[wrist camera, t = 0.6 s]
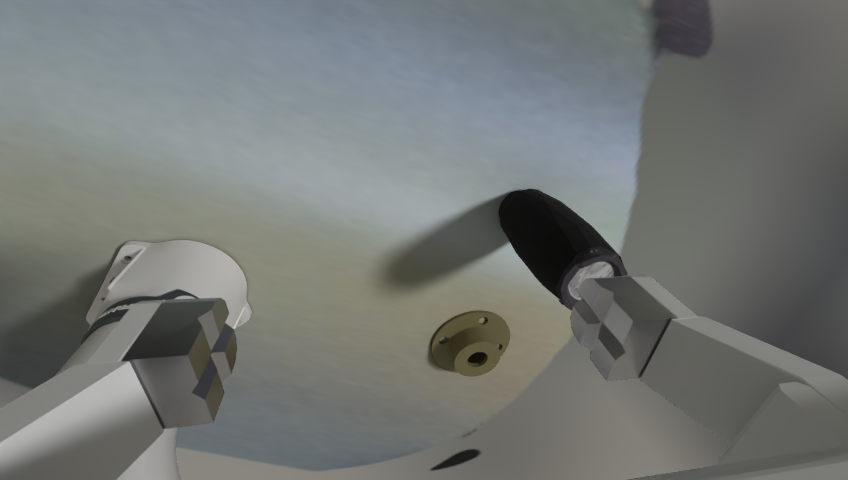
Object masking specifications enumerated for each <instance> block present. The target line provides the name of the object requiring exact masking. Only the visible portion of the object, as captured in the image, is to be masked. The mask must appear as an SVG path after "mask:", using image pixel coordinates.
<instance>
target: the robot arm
mask: <svg viewBox="0 0 848 480" xmlns="http://www.w3.org/2000/svg"><path fill="white" fill-rule="evenodd" d="M127 256H130V257H131V258H129V257H127ZM578 293H579V295H580V297H581V300H579V301H578V302H577V303H576V304H575V305H574V306H573V309H572V313H571V316H570V320H571V328H572V331H573V334H574V336H575V337H576V339H577V341H578V342H579V343H580V344H581V345H583V346H584V347H586V348H587V349H589V350H591V353H590V359H591V360H592V362H593V363H594V365H595V366H596V367H597V369H598V370H599V372H600V373H601V374H602V376H603V377H604V379H605V380H606V381H614V380H627V379H640V378H641V379H640V381H641V382H643V383H644V384H645V385H647V386H648V387H650V388H651V389H652V390H654V391H655V392H657V393H658V394H659V395H661V396H662V397H663V398H665V399H666V400H668V401H669V402H671V403H672V404H673V405H675V406H676V407H677V408H679V409H680V410H682V411H683V412H684V413H686V414H687V415H689V416H690V417H691V418H693V419H694V420H695V421H697V422H698V423H700V424H701V425H702V426H704V427H705V428H707V429H708V430H709V431H711V432H712V433H713V434H715V435H716V436H718V437H719V438H720V439H722V440H723V441H724V442H726V443H727V444H729V446H728V448H727V449H726V450H725V451H724V452H723V454H722V455H721V456H720V457H719V465H717V466H710V467H704V468H698V469H691V470H684V471H678V472H672V473H665V474H659V475H654V476H646V477H640V478H634V479H627V480H848V380H847V379H845V378H844V377H843V376H841V375H839V374H837V373H835V372H832V371H830V370H828V369H825V368H823V367H821V366H818V365H816V364H814V363H811V362H809V361H807V360H804V359H802V358H799V357H797V356H795V355H792V354H790V353H788V352H785V351H783V350H781V349H778V348H776V347H774V346H771V345H769V344H767V343H764V342H762V341H760V340H757V339H755V338H753V337H750V336H748V335H746V334H743V333H741V332H739V331H736V330H734V329H732V328H729V327H727V326H724V325H722V324H720V323H718V322H715V321H713V320H711V319H708V318H706V317H697V316H696V315H695V314H693V312H691V311H690V310H689V309H688V308H687V307H685V306H684V305H683V304H682V303H681V302H680V301H678V300H677V299H676V298H675V297H674V296H672V295H671V294H670V293H669V292H667V291H666V290H665V289H664V288H663V287H662V286H660V285H659V284H658V283H657V282H656V281H655V280H653V279H652V278H651V277H650V276H646V275H644V274H638V275H625V276H619V277H602V278H586V279H585V280H584V281H583V282H582V283H581V285H580V288H579V291H578ZM246 294H247V284H246V279H245V276H244V274H243V272H242V270H241V269H240V267H239V266H238V265H237V264H236V262H235V261H234V260H233V259H231V258H230V257H229V256H228V255H226V254H225V253H223V252H222V251H220V250H218V249H216V248H214V247H212V246H210V245H207V244H204V243H200V242H196V241H189V240H172V241H166V242H160V243H148V242H141V241H128V242H126V243H125V244H124V245H123V246H122V247H121V249H120V251H119V252H118V254H117V256H116V258H115V260H114V262H113V264H112V266H111V268H110V270H109V272H108V274H107V276H106V278H105V280H104V282H103V284H102V286H101V288H100V290H99V292H98V294H97V296H96V298H95V300H94V302H93V304H92V306H91V307H90V309H89V311H88V313H87V316H86V320H87V322H88V323H89V324H90V327H89V328H88V330H87V332H86V334H85V335H84V337H83V339H82V342H81V346H80V347H79V348H78V349H77V351H76V352H75V353H74V354H73V355H72V356H71V357H70V359H69V360H68V361H67V362H66V363H65V364H64V366H63V367H62V368H61V369H60V370H59V371H58V372H57V374H56V375H55V376H54V377H53V378H51V379H50V380H48V381H46V382H44V383H43V384H41V385H39V386H37V387H36V388H34V389H32V390H31V391H29V392H27V393H26V394H24V395H22V396H20V397H18V398H17V399H15V400H13V401H11V402H10V403H8V404H6V405H4V406H3V407H1V408H0V480H181V478H180V474H179V470H178V466H177V459H176V433H177V428H178V427H185V426H192V425H200V424H207V423H213V422H214V420H215V417H216V414H217V412H218V409H219V406H220V403H221V401H222V398H223V395H224V389H223V386H222V383H221V382H222V381H224V380H225V379H226V378H227V377H228V376H229V375H231V373H232V370H233V367H234V364H235V359H236V351H237V344H236V336H235V332H234V329H235V328H237V327H239V326H240V325H242V324H244V323H245V322H247V321H248V320H249V319H250V317H251V315H252V312H251V309H250V307H249V304H248V303H247V300H246Z"/></svg>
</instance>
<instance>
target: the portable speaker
mask: <svg viewBox="0 0 848 480" xmlns="http://www.w3.org/2000/svg"><path fill="white" fill-rule="evenodd" d="M499 216H500V223H501V227H502V229H503V231H504V232H505V234H506V236H507V238H508V239H509V241H510V243H511V245H512V246H513V248H514V250H515V252H516V253H517V254H518V256H519V257H520V258H521V259H522V261H523V262H524V263H525V264H526V266H527V267H528V268H529V269H530V271H531V272H532V273H533V274H534V276H535V277H536V278H537V279H538V280H539V281H540V283H541V284H542V285H543V286H544V287H545V288H547V289H548V290H549V291H550V292H551V293H553V294H554V295H555V296H556V297H557V298H559V299H560V300H559V301H560V302H561V301H562V302H561V304H562V305H565V306H566V307H567V308H569V309H570V310H572V309H573V306H574V305H575V304H576V303H577V302H578V301H579V300H581V297H580V295H579V293H578V291H579V288H580V285H581V283H582V282H583V281H584V280H585V279H586V278H602V277H619V276H625V275H627V271H626V270H625V268H624V265H623V263H622V260H621V257H620V256H619V255H618V254H617V253H616V252H615V250H614V249H613V248H612V247H611V246H610V245H609V244H608V243H607V242H606V241H605V240H604V239H603V237H602V236H601V235H600V234H599V233H598V232H597V231H596V230H595V229H594V228H593V227H592V226H591V225H590V224H589V223H587V222H586V221H585V220H584V219H582V218H581V217H580V216H578V215H577V214H576V213H575V212H573V211H572V210H571V209H570V208H568V207H567V206H566V205H565V204H563V203H562V202H561V201H559V200H557V199H555V198H553V197H551V196H549V195H547V194H545V193H543V192H541V191H539V190H536V189H527V190H522V191H517V192H512V193H510V194H509V195H508V196H507V197H506V198H505V199H504V200H503V201H502V203H501V206H500V209H499Z"/></svg>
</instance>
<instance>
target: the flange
mask: <svg viewBox="0 0 848 480" xmlns="http://www.w3.org/2000/svg"><path fill="white" fill-rule="evenodd" d="M482 317H486V318H487V320H486V322H484V323H478V321H479V319H480V318H482ZM442 337H447V338H448V340H447V341H446V342H439V339H440V338H442ZM509 340H510V331H509V328H508V326H507V324H506V322H505V321H504V320H503V319H502V318H501V317H500V316H498V315H497V314H494V313H492V312H488V311H470V312H466V313H462V314H460V315H457V316H455V317H453V318H451V319H450V320H448V321H447V322H446V323H444V324H443V325H442V326H441V327H440V328H439V329H438V331H437V332H436V334H435V335H434V337H433V340H432V344H431V351H432V355H433V358H434V360H435V362H436V363H437V364H438V365H439V366H440V367H442V368H443V369H445V370H448V371H451V372H456V373H460V374H462V375H464V376H479V375H482V374H485V373H487V372H489V371H490V370H492V369H493V368H494V367H495V366H496V365H497V363H498V362H499V360H500V356H501V355H502V354H503V353H504V352H505V350H506V348H507V346H508V344H509ZM497 344H501V347H500V348H498V346H497Z"/></svg>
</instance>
